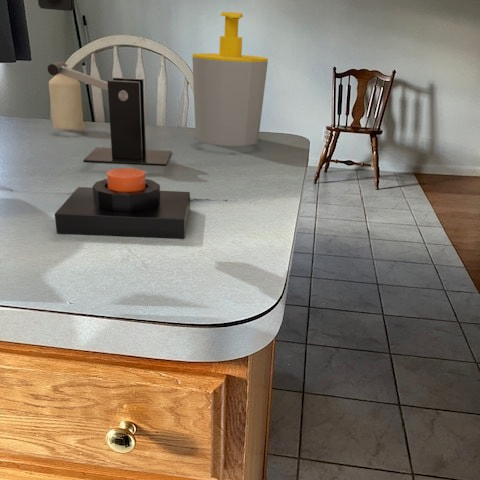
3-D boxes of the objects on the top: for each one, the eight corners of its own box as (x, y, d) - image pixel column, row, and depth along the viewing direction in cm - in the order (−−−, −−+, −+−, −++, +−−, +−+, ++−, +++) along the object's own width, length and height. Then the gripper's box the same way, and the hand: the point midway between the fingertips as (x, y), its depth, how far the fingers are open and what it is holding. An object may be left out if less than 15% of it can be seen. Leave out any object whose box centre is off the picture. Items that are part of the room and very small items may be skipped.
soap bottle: (196, 151, 93) (197, 9, 83) (187, 136, 104) (188, 10, 94) (269, 152, 96) (280, 15, 85) (253, 137, 107) (261, 14, 96)
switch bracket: (83, 168, 79) (76, 80, 73) (96, 154, 87) (90, 74, 81) (166, 172, 80) (164, 85, 74) (171, 158, 88) (170, 79, 82)
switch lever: (45, 76, 75) (48, 58, 74) (55, 73, 79) (58, 56, 78) (131, 107, 77) (135, 90, 76) (136, 102, 82) (140, 86, 80)
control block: (56, 234, 55) (52, 196, 53) (79, 205, 64) (76, 171, 62) (184, 239, 56) (184, 201, 54) (189, 209, 65) (190, 176, 63)
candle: (49, 129, 103) (42, 72, 98) (76, 127, 106) (71, 72, 101) (61, 135, 99) (55, 75, 95) (89, 132, 103) (84, 75, 98)
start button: (104, 193, 56) (103, 176, 56) (111, 183, 60) (110, 167, 59) (143, 195, 57) (142, 178, 56) (147, 184, 60) (147, 169, 59)
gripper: (22, -206, 54) (42, 7, 63) (-45, -277, 41) (-8, 5, 50) (99, -198, 54) (107, 13, 63) (56, -266, 41) (74, 12, 50)
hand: (56, 9), depth 56 cm, fingers closed
